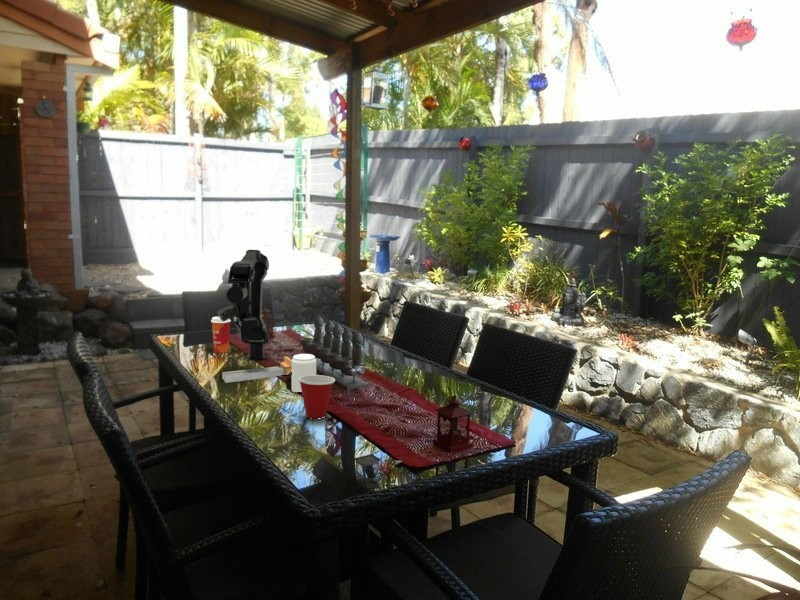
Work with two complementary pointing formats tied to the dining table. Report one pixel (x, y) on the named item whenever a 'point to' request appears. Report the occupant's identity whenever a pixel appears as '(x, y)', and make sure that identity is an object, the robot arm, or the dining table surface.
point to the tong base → (254, 375)
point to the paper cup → (220, 334)
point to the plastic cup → (316, 394)
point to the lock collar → (287, 365)
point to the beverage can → (302, 369)
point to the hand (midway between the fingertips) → (242, 341)
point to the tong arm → (247, 370)
